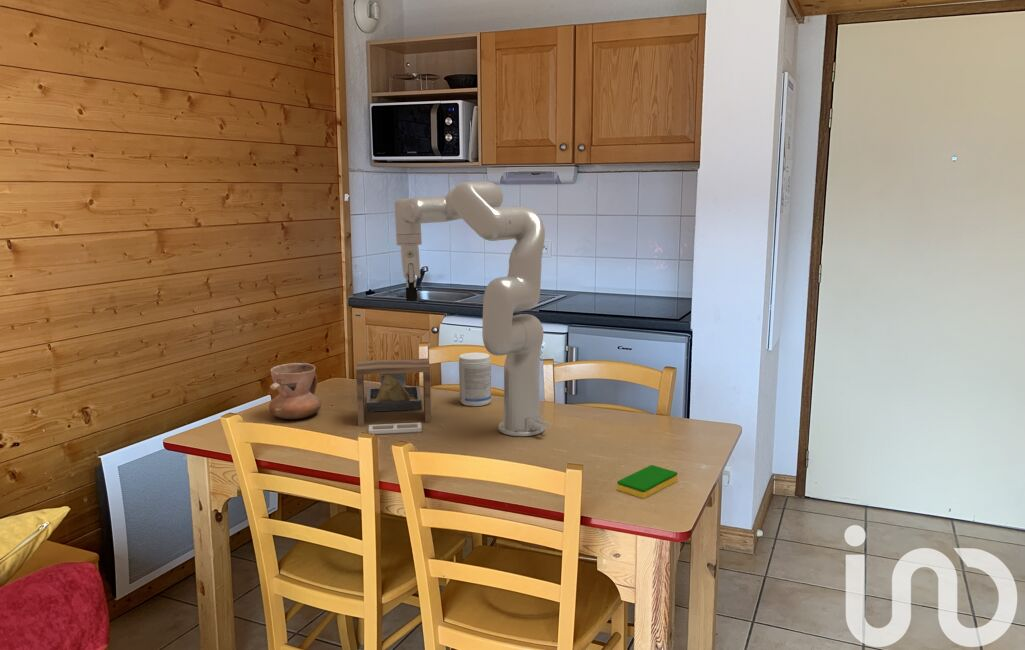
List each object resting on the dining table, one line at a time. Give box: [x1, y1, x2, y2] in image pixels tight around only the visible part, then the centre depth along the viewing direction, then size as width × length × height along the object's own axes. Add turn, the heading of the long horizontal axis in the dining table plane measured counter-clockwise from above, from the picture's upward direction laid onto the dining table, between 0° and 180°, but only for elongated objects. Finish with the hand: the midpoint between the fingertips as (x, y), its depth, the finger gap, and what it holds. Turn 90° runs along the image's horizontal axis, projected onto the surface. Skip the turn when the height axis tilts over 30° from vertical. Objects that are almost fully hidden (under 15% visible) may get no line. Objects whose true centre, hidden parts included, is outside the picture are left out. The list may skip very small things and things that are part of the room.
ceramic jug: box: [268, 362, 322, 420], centre depth 223 cm, size 18×14×14 cm
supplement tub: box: [458, 352, 492, 407], centre depth 236 cm, size 10×10×15 cm
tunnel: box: [355, 357, 432, 427], centre depth 220 cm, size 10×20×16 cm, turn 99°
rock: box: [375, 375, 413, 401], centre depth 230 cm, size 11×9×10 cm
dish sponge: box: [616, 464, 678, 499], centre depth 174 cm, size 7×14×2 cm, turn 137°
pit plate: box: [368, 422, 423, 436], centre depth 211 cm, size 5×14×1 cm, turn 99°
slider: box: [365, 373, 423, 413], centre depth 239 cm, size 25×16×9 cm, turn 9°
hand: (411, 300), depth 236 cm, fingers closed
